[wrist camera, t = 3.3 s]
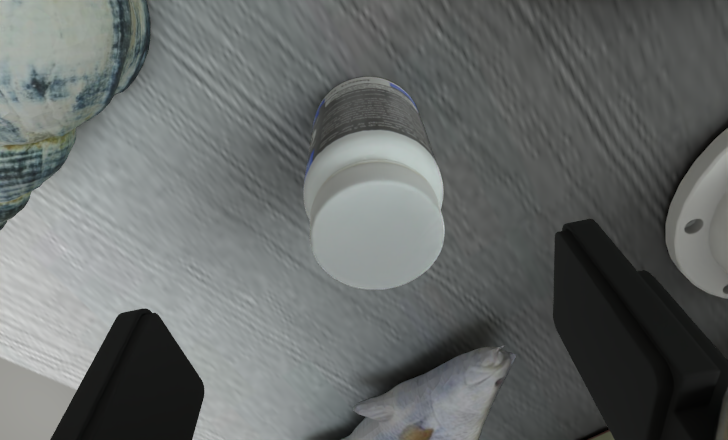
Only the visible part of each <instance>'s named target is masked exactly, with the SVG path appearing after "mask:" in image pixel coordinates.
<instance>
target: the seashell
mask: <svg viewBox="0 0 728 440" xmlns="http://www.w3.org/2000/svg"><path fill="white" fill-rule="evenodd" d="M149 42H150V17H149V11H148V6H147V2H146V0H0V230H1V229H2V228H3V227H4V225H5V224H6V222H7V220H8V219H10V218H12V217H14V216H15V215H16V214H17V213H18V212H19V211H21V210H22V209H23V208H24V207H25V205H26V204H27V202H28V200H29V198H30V194H31V191H32V190H34V189H36V188H38V187H40V185H41V184H42V183H43V182H44V181H45V180H47V179H48V178H50V177H51V176H52V175H53V174H54V173H55V172H57V171H58V170H59V169H60V168H61V166H62V165H63V164H64V162H65V161H66V159H67V157H68V154H69V152H70V150H71V148H72V146H73V144H74V142H75V139H76V127H78V126H79V125H81V124H82V123H83V122H85V121H88V120H90V119H91V118H93V117H95V116H96V115H98V114H99V113H101V112H102V110H103V109H104V108H105V107H106V106H107V105H108V104H109V103H110V101H111V100H112V98H113V96H114V94H117V93H120V92H123V91H124V90H125V89H126V88H128V87H129V86H130V84H131V83H132V82H133V81H134V80H135V78H136V76H137V75H138V73H139V71H140V69H141V68H142V66H143V63H144V61H145V58H146V55H147V52H148V49H149Z"/></svg>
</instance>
